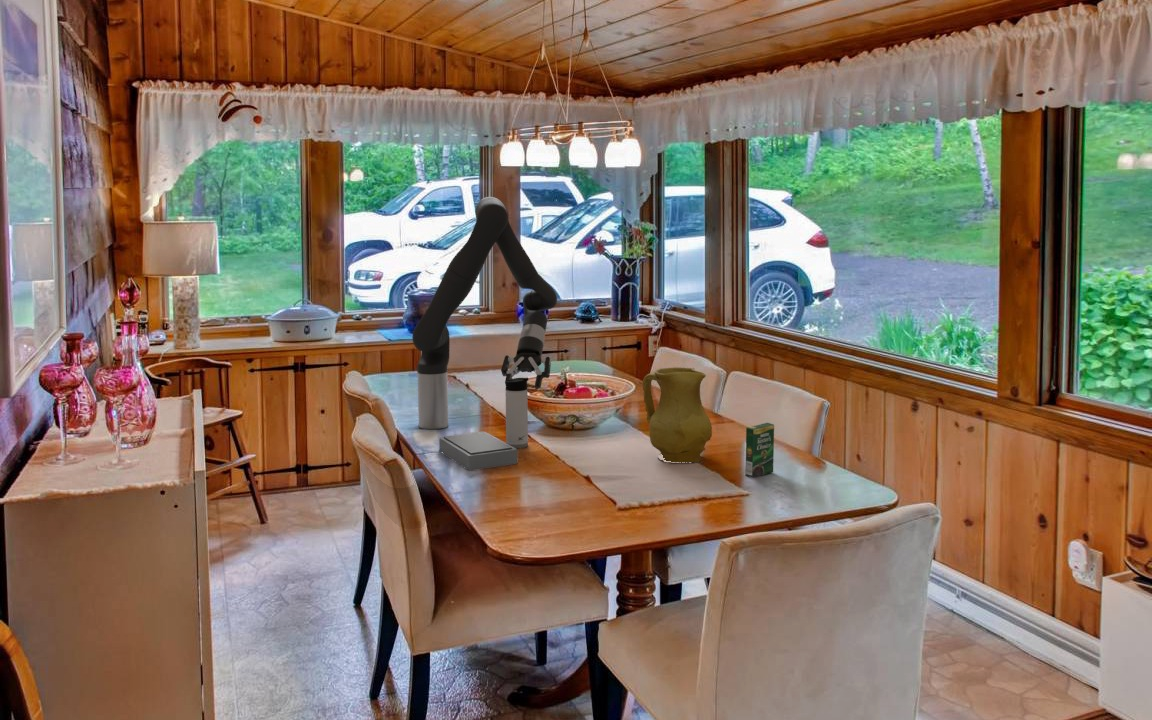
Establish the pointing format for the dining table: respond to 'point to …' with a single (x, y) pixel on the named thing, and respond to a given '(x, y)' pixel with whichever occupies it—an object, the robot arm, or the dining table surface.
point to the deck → (478, 450)
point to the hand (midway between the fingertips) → (522, 387)
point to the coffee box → (759, 449)
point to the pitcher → (677, 414)
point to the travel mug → (516, 412)
